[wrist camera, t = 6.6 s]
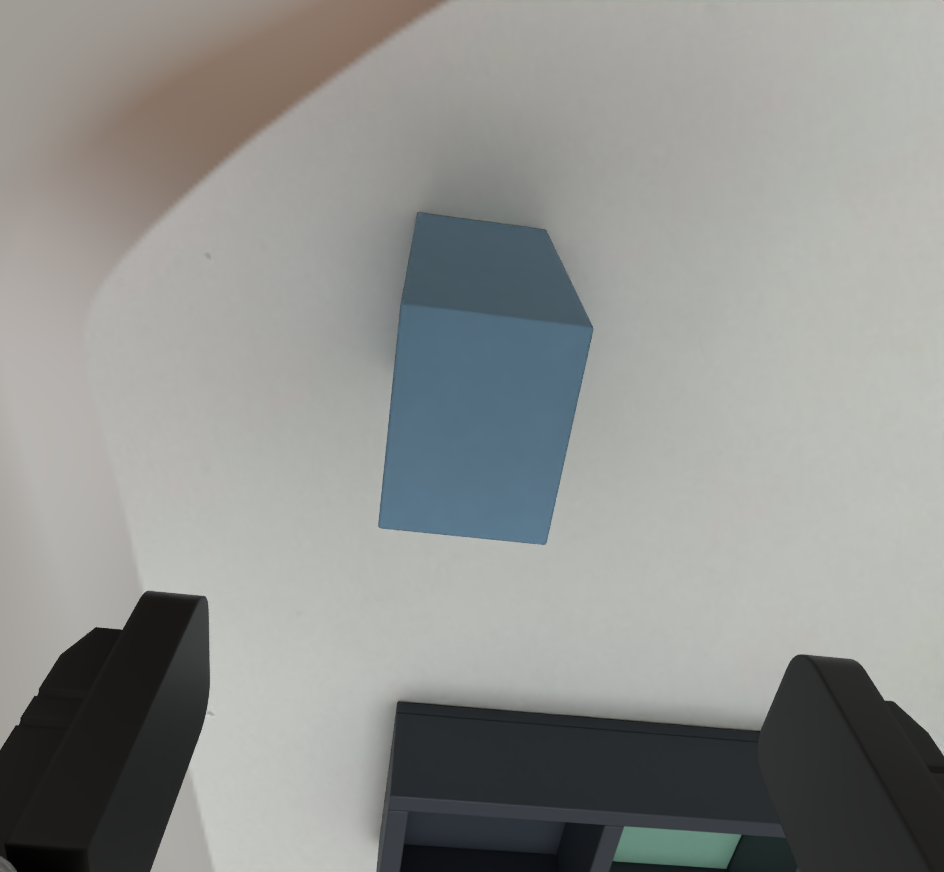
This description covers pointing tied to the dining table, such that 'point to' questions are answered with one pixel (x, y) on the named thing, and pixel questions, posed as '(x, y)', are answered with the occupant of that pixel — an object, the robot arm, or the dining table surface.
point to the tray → (573, 796)
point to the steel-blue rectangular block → (482, 382)
